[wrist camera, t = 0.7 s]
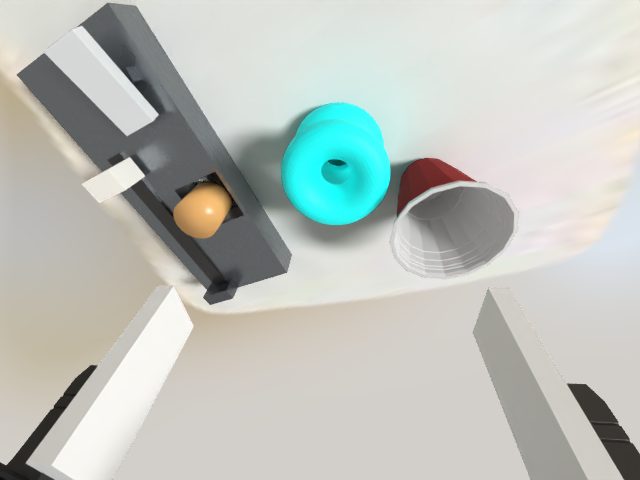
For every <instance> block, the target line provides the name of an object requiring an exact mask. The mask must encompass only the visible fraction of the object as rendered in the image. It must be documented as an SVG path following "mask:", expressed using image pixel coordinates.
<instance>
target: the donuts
mask: <svg viewBox="0 0 640 480" xmlns="http://www.w3.org/2000/svg"><path fill="white" fill-rule="evenodd" d="M332 159H338V160H342V161H344V162H345V163H346V164H344V165H341V166H335V165H332V164H330V163H329V162H328V160H332ZM281 179H282V184H283V188H284V191H285V193H286V195H287V197H288V199H289V200H290V202H291V203H292V205H293V206H294V207H295V208H296V209H297V210H298V211H299V212H301V213H302V214H303V215H304V216H306V217H308V218H309V219H311V220H314V221H316V222H319V223H323V224H328V225H344V224H349V223H353V222H356V221H358V220H360V219H362V218H364V217H366V216H367V215H369V214H370V213H371V212H373V211H374V210H375V209H376V208H377V207H378V205H379V204H380V203H381V201H382V200H383V198H384V196H385V194H386V192H387V189H388V186H389V182H390V163H389V159H388V155H387V153H386V150H385V148H384V142H383V137H382V134H381V131H380V128H379V126H378V125H377V123H376V121H375V120H374V119H373V118H372V117H371V116H370V115H369V114H368V113H367V112H366V111H364V110H363V109H361V108H359V107H357V106H355V105H352V104H348V103H330V104H326V105H323V106H321V107H319V108H317V109H315V110H313V111H312V112H311V113H310V114H308V115H307V116H306V117H305V119H304V120H303V121H302V123H301V124H300V126H299V128H298V130H297V132H296V135H295V137H294V138H293V140H292V141H291V142H290V144H289V145H288V147H287V149H286V151H285V154H284V156H283V160H282V165H281Z"/></svg>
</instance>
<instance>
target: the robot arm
mask: <svg viewBox="0 0 640 480" xmlns="http://www.w3.org/2000/svg"><path fill="white" fill-rule="evenodd" d="M192 329H193V324H192V322H191V320H190V318H189V316H188V314H187V312H186V310H185V308H184V306H183V304H182V302H181V300H180V298H179V296H178V294H177V292H176V290H175V288H174V286H157V287H156V288H155V290H154V291H153V292H152V294H151V295H150V296H149V298H148V299H147V301H146V302H145V303H144V305H143V306H142V307H141V309H140V310H139V312H138V313H137V314H136V315H135V317H134V318H133V319H132V321H131V322H130V323H129V325H128V326H127V327H126V329H125V330H124V331H123V333H122V334H121V336H120V337H119V338H118V340H117V341H116V343H115V344H114V345H113V346H112V348H111V349H110V350H109V352H108V353H107V354H106V356H105V357H104V359H103V360H102V361H101V362H100V364H99V365H98V366H94V365H91V366H89V367H88V368H87V369H86V370H85V371H83V372H82V373H81V374H80V375H79V376H78V377H77V378H75V380H74V381H73V382H72V383H71V385H70V386H69V387H68V388H67V390H66V391H65V393H64V395H63V397H60V399H59V400H58V401H57V403H56V404H55V405H54V408H53V409H52V410H50V412H49V413H48V414H47V415H46V417H45V418H44V419H43V421H42V422H41V423H40V424H39V426H38V427H37V428H36V430H35V431H34V432H33V433H32V435H31V436H30V437H29V438H28V440H27V441H26V442H25V444H24V445H23V446H22V447H21V449H20V450H19V451H18V453H17V454H16V455H15V456H14V458H13V459H12V460H11V461H10V462H9V463H8V464H7V465H4V464H2V463H0V480H113V479H114V477H115V475H116V473H117V471H118V470H119V468H120V466H121V464H122V462H123V460H124V458H125V456H126V454H127V452H128V450H129V449H130V447H131V445H132V443H133V441H134V439H135V437H136V435H137V433H138V431H139V430H140V428H141V426H142V424H143V422H144V420H145V418H146V416H147V414H148V412H149V411H150V409H151V407H152V405H153V403H154V401H155V399H156V397H157V395H158V393H159V391H160V390H161V388H162V386H163V384H164V382H165V380H166V378H167V376H168V374H169V372H170V370H171V369H172V366H173V365H174V363H175V361H176V359H177V357H178V355H179V353H180V351H181V349H182V347H183V346H184V344H185V342H186V340H187V338H188V336H189V334H190V332H191V330H192ZM473 334H474V337H475V339H476V342H477V344H478V347H479V349H480V352H481V354H482V357H483V359H484V362H485V365H486V367H487V370H488V372H489V374H490V377H491V380H492V382H493V385H494V387H495V390H496V392H497V395H498V398H499V400H500V403H501V405H502V408H503V410H504V413H505V415H506V418H507V421H508V423H509V426H510V428H511V431H512V433H513V436H514V438H515V440H516V443H517V446H518V448H519V451H520V454H521V456H522V459H523V461H524V464H525V466H526V469H527V471H528V474H529V477H530V479H531V480H640V454H639V452H638V451H637V449H636V448H635V446H634V445H633V444H632V443H631V442H630V439H629V437H628V436H627V434H626V433H625V431H624V430H623V428H622V427H621V426H619V424H618V421H617V419H616V418H615V416H614V415H613V413H612V412H611V410H610V409H609V408H608V406H607V404H606V403H605V402H604V401H603V400H602V399H601V398H600V397H599V396H598V395H597V394H596V393H595V392H594V391H593V390H591V389H590V388H589V387H588V386H587V385H586V384H566V382H565V380H564V379H563V377H562V375H561V374H560V372H559V370H558V369H557V367H556V365H555V364H554V362H553V360H552V359H551V357H550V355H549V354H548V352H547V350H546V349H545V347H544V345H543V343H542V342H541V340H540V338H539V337H538V335H537V333H536V332H535V330H534V329H533V327H532V325H531V323H530V322H529V320H528V319H527V317H526V315H525V314H524V312H523V310H522V308H521V307H520V305H519V303H518V302H517V300H516V299H515V297H514V295H513V293H512V292H511V290H510V288H488V290H487V293H486V296H485V299H484V302H483V305H482V307H481V310H480V313H479V316H478V319H477V322H476V325H475V328H474V331H473Z"/></svg>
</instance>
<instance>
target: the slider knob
mask: <svg viewBox="0 0 640 480" xmlns="http://www.w3.org/2000/svg"><path fill="white" fill-rule="evenodd" d="M144 177H145V175H144V174H143V173H142V171H141V170H140V169H139V168H138V166H137V165H136V164H135V163H134V161H133V160H132V159H131V158H130V157H129V158H127V159H125V160H123V161H122V162H120V163H118V164H116V165H114V166H112V167H110V168H109V169H107V170H105V171H103V172H101V173H100V174H98V175H96V176H94V177H92V178H91V179H89V180H87V181H85V182H84V183H82V185H83V187H84V188H85V189H86V190H87V191H88V192H89V193H90V194H91V195H92V196H93V197H94V198H95V199H96V200H97V201H98V202H99V203H101V202H103V201H105V200H107V199H109V198H111V197H113V196H115V195H117V194H119V193H121V192H123V191H125V190H127V189H128V188H129V187H131V186H132V185H134V184H135V183H137V182H138V181H139V180H141V179H142V178H144Z"/></svg>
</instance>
